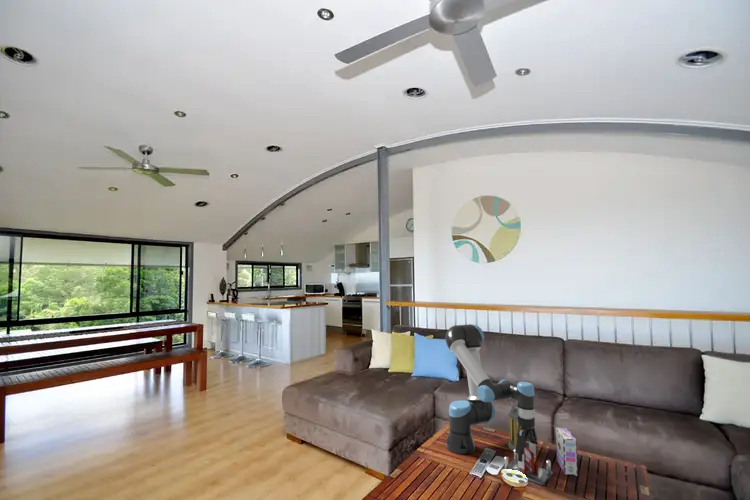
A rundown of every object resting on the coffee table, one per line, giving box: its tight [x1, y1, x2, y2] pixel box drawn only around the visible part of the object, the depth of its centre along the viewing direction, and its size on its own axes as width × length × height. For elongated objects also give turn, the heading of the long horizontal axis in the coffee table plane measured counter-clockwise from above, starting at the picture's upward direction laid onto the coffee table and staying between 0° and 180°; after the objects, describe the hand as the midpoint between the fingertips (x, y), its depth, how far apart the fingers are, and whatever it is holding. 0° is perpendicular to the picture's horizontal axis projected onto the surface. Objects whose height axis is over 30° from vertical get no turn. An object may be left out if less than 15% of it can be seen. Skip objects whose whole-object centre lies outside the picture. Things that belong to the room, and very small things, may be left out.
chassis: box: [502, 449, 554, 486], centre depth 174 cm, size 18×13×6 cm
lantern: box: [507, 400, 537, 453], centre depth 199 cm, size 14×14×25 cm
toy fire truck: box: [517, 445, 540, 473], centre depth 174 cm, size 7×12×10 cm, turn 2°
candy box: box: [554, 427, 578, 477], centre depth 178 cm, size 14×6×16 cm, turn 168°
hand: (526, 462), depth 174 cm, fingers open, 13 cm apart
